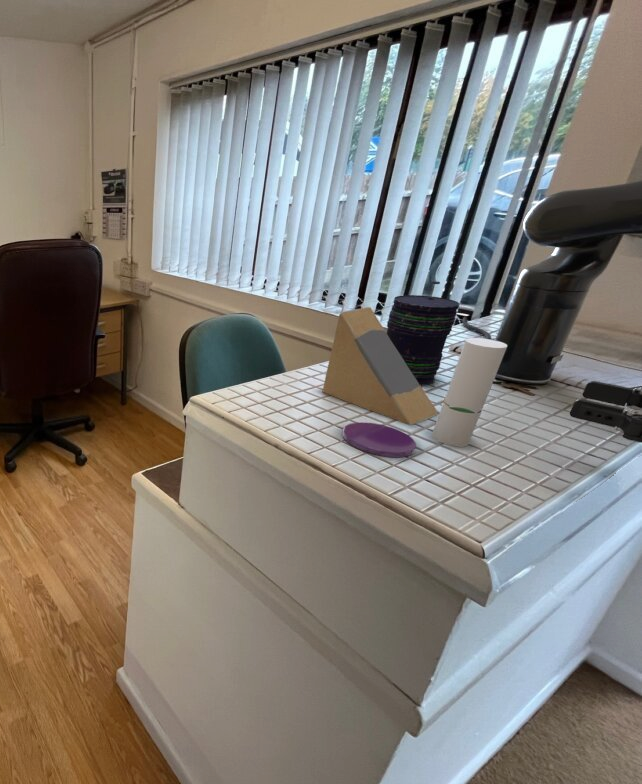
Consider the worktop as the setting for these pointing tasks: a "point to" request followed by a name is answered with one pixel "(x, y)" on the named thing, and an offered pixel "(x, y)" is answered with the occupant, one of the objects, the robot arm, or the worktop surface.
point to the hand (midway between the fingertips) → (578, 397)
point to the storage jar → (421, 332)
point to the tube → (468, 390)
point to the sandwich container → (373, 371)
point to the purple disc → (379, 439)
